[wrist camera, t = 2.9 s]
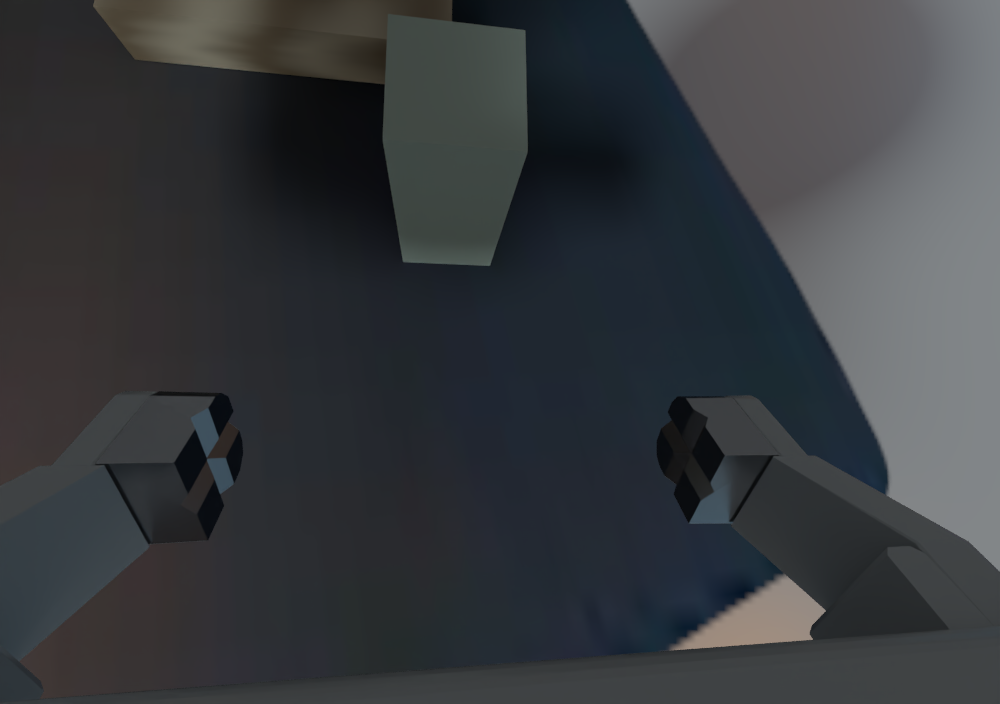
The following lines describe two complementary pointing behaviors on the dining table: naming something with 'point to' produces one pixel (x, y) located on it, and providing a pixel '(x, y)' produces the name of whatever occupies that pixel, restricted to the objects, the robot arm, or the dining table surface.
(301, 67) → the plinth
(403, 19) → the sage block
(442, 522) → the dining table surface
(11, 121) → the dining table surface
